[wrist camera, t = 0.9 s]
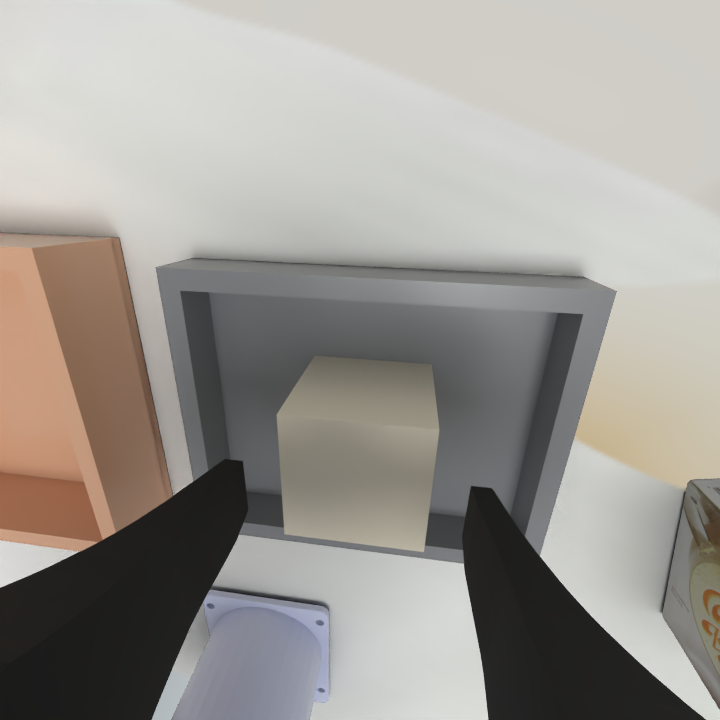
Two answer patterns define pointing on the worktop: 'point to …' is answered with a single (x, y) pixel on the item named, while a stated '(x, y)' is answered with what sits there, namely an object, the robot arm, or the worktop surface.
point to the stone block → (359, 452)
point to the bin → (72, 395)
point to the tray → (389, 343)
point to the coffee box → (698, 582)
